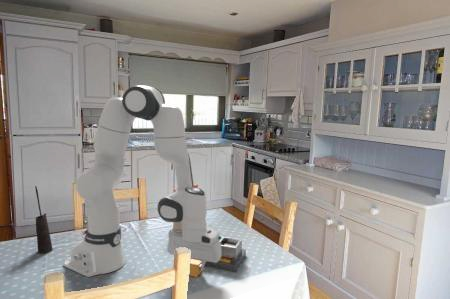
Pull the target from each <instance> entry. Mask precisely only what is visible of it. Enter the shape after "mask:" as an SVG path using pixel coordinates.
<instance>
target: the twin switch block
mask: <svg viewBox="0 0 450 299" xmlns="http://www.w3.org/2000/svg"><path fill="white" fill-rule="evenodd" d="M221 237H222V238H221V239H220V243H221V252H222V255H221V259H220V260H219V261H218V262H217V263H214V262H209V261H207V262H206V263H205V265H204V267H205V266H206V267H209V268H215V269H219V270H222V271H230V272H233V273H236V272H237V270H238V268H239V267H240V266H241V264H242V262H243V261H244V259H245V257H246V255H247V249H246V248H243V239H239V238H233V237H229V236H221ZM218 239H219V238H218ZM225 243H227V244H233V245H236V246H235V247H231V246H226V245H224V244H225ZM191 259H194V258H191ZM195 260H199V259H195ZM200 261H201V260H200Z"/></svg>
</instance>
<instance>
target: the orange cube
mask: <svg viewBox="0 0 450 299" xmlns="http://www.w3.org/2000/svg"><path fill="white" fill-rule="evenodd" d="M200 264H202V262H201V261H200V260H195V259H191V262H190V274H189V275H188V276H190V277H193V276H195V277H194V278H198V277H199V275H200V274H201V273H202V272H203V271H201V270H199V265H200Z"/></svg>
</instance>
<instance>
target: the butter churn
mask: <svg viewBox="0 0 450 299" xmlns="http://www.w3.org/2000/svg"><path fill="white" fill-rule="evenodd" d="M34 188H35V194H36V199H37V204H38V212H39V215H38V216H35V234H36V239H37V240H36V242H37V253H38V252H39V253H38V254H47V253H50V252H51V251H53V249H54V248H53V243H52V238H51V233H50V228H49V223H48V218H47V213H46V212H45V213H44V214H42V209H41V204H40V199H39V198H40V197H39V192H38V191H39V190H38V188H37V185H35V186H34ZM50 250H51V251H50Z"/></svg>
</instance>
